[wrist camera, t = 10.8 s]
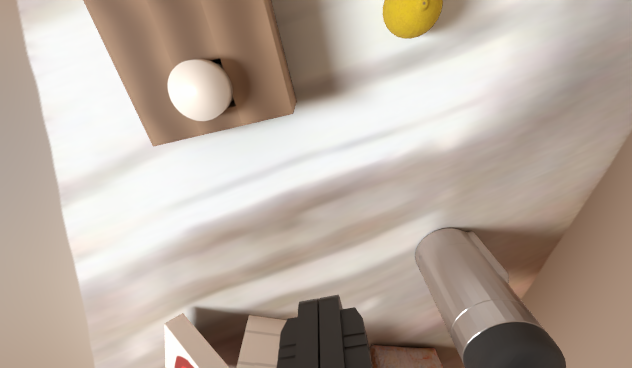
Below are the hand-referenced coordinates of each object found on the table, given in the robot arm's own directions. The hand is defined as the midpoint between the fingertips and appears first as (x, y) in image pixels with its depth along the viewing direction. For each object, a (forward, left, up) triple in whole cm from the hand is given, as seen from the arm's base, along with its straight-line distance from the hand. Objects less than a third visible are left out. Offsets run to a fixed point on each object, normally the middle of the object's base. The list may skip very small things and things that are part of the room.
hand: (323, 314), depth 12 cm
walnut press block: (+10, -13, -31) cm, 35 cm away
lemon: (-12, -10, -31) cm, 35 cm away
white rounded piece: (+10, -8, -30) cm, 33 cm away
